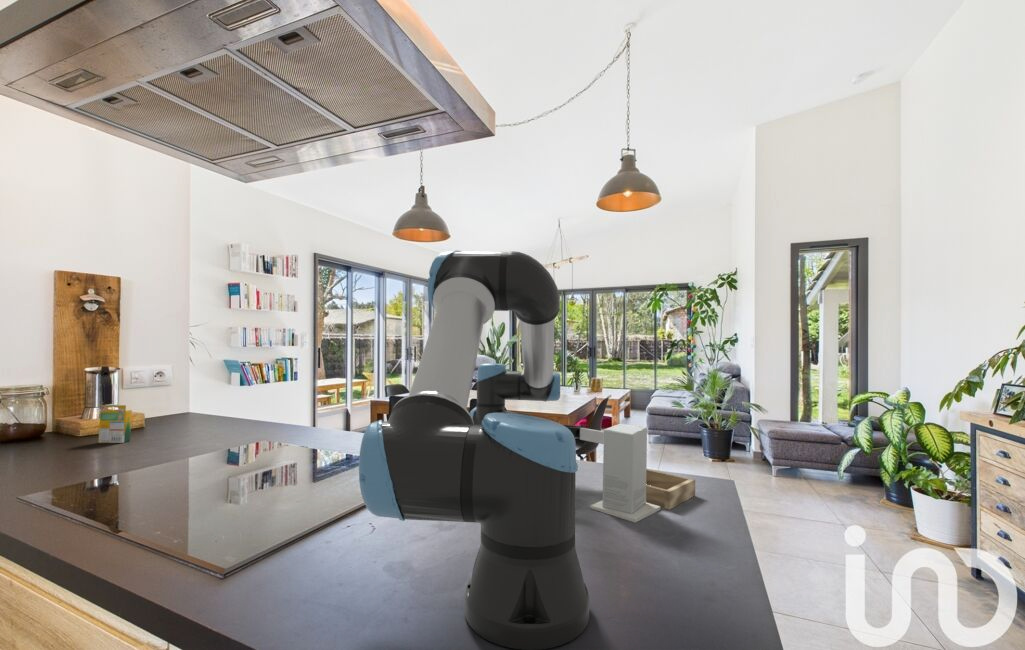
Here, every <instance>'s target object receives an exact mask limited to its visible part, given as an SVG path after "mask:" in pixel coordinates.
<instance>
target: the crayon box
mask: <svg viewBox="0 0 1025 650" xmlns="http://www.w3.org/2000/svg"><path fill="white" fill-rule="evenodd" d="M109 408H110V409H109ZM111 408H118V409H114V410H113V409H111ZM132 412H133V411H132V409H130V410H129V409H127V405H126V404H125V405H124V404H123V405H122V404H121V405H118V404H117V405H115V404H113V405H102V404H101V405H100V413H99V423H98V424H99V425H98V426H99V427H98V428H99V429H98V441H97V442H98V444H116V443H117V444H118V443H119V444H124V443H128V442H130V441H131V431H132V415H133V413H132Z"/></svg>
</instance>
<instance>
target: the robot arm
mask: <svg viewBox="0 0 1025 650" xmlns="http://www.w3.org/2000/svg"><path fill="white" fill-rule="evenodd" d="M430 265H431V266H430V268H429V271H428V273H429V277H428V278H427V295H428V300H429V303H430V305H431V307H432V308H433V309H434V310H435V316H434V318H433V322H432V325H431V326H430V327H431V328H430V330H429V334H428V337H427V339H426V342H425V343H426V344H425V346H424V348H423V352H422V355H421V357H420V361H419V363H418V368H417V370H416V374H415V376H414V379H413V382H412V386H411V387H410V391H409V394H408V395H406V396H405V397H403V398H401V399H399V400H398V401H397V402H396V403H395V404H394V405H393V407H392V410H391V413H390V415H389V418H388V420H387V421H384V420H383V419H379V420H376V421H373V422H371V423H369V424H368V425H367V426H366V429H365V431H364V433H363V436H362V440H361V445H360V449H359V456H358V475H359V476H358V483H359V488H360V494H361V497H362V498H361V499H362V501H363V503H364V505H365V507H366V508H367V511H369V512H370V514H372V515H374V516H376V517H379V518H380V517H381V518H391V519H398V520H399V521H401V522H404V521H405V520H413V521H414V520H415V521H435V522H436V521H437V522H453V523H455V522H458V523H475V524H480V545H479V549H478V552H477V555H476V558H475V561H474V564H473V568H472V573H471V577H470V578H469V580H468V582H467V584H466V587H465V593H464V594H465V595H464V617H465V619H466V620H465V621H466V622H467V623H468V625H469V627H470V628H471V629H472V630H473V631H474V632H475V633H476V634H477V635H479V636H480V637H482V638H483V639H484V640H487V641H488V642H490V643H493V644H495V645H499V646H501V647H506V648H510V649H514V650H546V649H551V648H555V647H560V646H562V645H565V644H567V643H569V642H571V641H574V639H576V638H578V637H579V636H581V634H582V633H584V631H585V630H586V628H587V626H588V624H589V621H590V595H589V591H588V588H587V585H586V583H585V582H584V581H585V580H584V577H583V576H584V575H583V572H582V569H581V564H580V560H579V558H578V553H577V548H576V472H578V468H579V466H578V465H579V464H578V463H577V451H576V449H577V447H576V446H577V444H576V439H579V440H581V441H586V442H589V443H590V442H591V443H597V444H601V445H604V430H598V429H591V428H586V425H584V424H583V423H580V425H572V424H571V425H570V424H561V423H559V422H556V421H553V420H552V419H547V418H543V417H539V416H533V415H531V414H527V413H521V412H515V411H510V410H509V411H508V410H505V408H506V407H505V406H506V401H511V400H512V401H530V402H531V401H533V402H555V401H559V400H560V398H561V374H560V373H559V372H555V371H554V369H555V368H554V364H555V361H554V360H555V319H557V317H558V316H559V313H560V309H561V308H560V307H561V297H560V292H559V289H558V286H557V284H556V282H555V279H554V278H553V277H552V274H551V273H550V272H549V270H547V269H546V267H545V266H544V265H543V264H542V263H541V262H540V261H538V260H537V259H536V258H534V257H532V256H530V255H528V254H526V253H524V252H521V251H511V250H510V251H462V250H453V251H444V252H441V253H439V254H437V255H436V256H435V258H434V259H433V260H432V262H431V264H430ZM497 311H499V312H500V311H501V312H502V311H503V312H505V311H506V312H509V311H510V312H512V311H513V313H514V315H515V317H516V318H517V319H518V320H519V328H520V329H519V330H520V342H521V343H520V344H521V345H520V346H521V355H522V356H521V357H522V369H523V370H522V371H520V370H516V371H515V370H507V369H506V368H507V367H506V365H505V363H481V364H479V365H478V366H477V379H476V406H475V407H474V408H473V409H471V410H470V412H469V411H468V409H467V408H468V404H469V398H470V395H471V394H470V393H471V390H472V383H473V379H474V373H475V369H476V363H477V358H478V353H479V350H480V349H479V347H480V344H481V343H480V342H481V339H482V333H483V328H484V325H485V324H486V323H488V322H489V321H490V320H491V319H492V317H493V316H494V314H495V313H494V312H497Z"/></svg>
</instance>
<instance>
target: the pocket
mask: <svg viewBox="0 0 1025 650" xmlns="http://www.w3.org/2000/svg"><path fill="white" fill-rule="evenodd" d="M646 484H647V485H646V502H647V503H650V504H654V505H657V506H661V508H662V509H665V510H671V509H674V508H675V507H676V506H678V505H680V504H682V502H683V503H684V501H685V502H686V501H688V500H690V499H692V498H694V497H696V479H694V478H689V477H686V476H681V475H677V474H673V473H667V472H662V471H659V470H653V469H649V468H646ZM650 485H651V486H650ZM693 496H694V497H693ZM691 497H692V498H691ZM689 498H690V499H689Z"/></svg>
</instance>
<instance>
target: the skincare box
mask: <svg viewBox="0 0 1025 650" xmlns="http://www.w3.org/2000/svg"><path fill="white" fill-rule="evenodd" d="M603 431H604V444H603V456H602V457H603V458H602V461H603V462H602V464H603V465H602V466H603V467H602V500H603V504H602V506H603V507H604V508H609V509H613V510H617V511H621V512H624V513H628V514H632V513H634V512H635V511H636V510H637V509H639V508H640V507H641V506H642V505H644V504H645V503H646V469H647V461H648V460H647V457H648V454H647V451H648V427H647V426H641V425H633V424H626V423H618V424H615V425H612V426H610V427H607V428H604V429H603Z"/></svg>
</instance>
